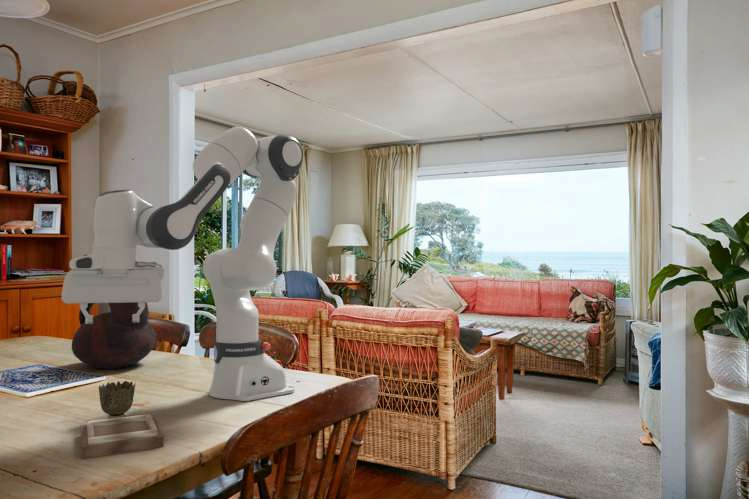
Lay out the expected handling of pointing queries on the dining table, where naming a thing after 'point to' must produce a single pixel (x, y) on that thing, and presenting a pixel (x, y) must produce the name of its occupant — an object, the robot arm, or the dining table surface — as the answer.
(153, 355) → the dining table surface
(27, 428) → the dining table surface
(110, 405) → the cup
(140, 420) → the plate
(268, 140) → the robot arm
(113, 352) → the jug
